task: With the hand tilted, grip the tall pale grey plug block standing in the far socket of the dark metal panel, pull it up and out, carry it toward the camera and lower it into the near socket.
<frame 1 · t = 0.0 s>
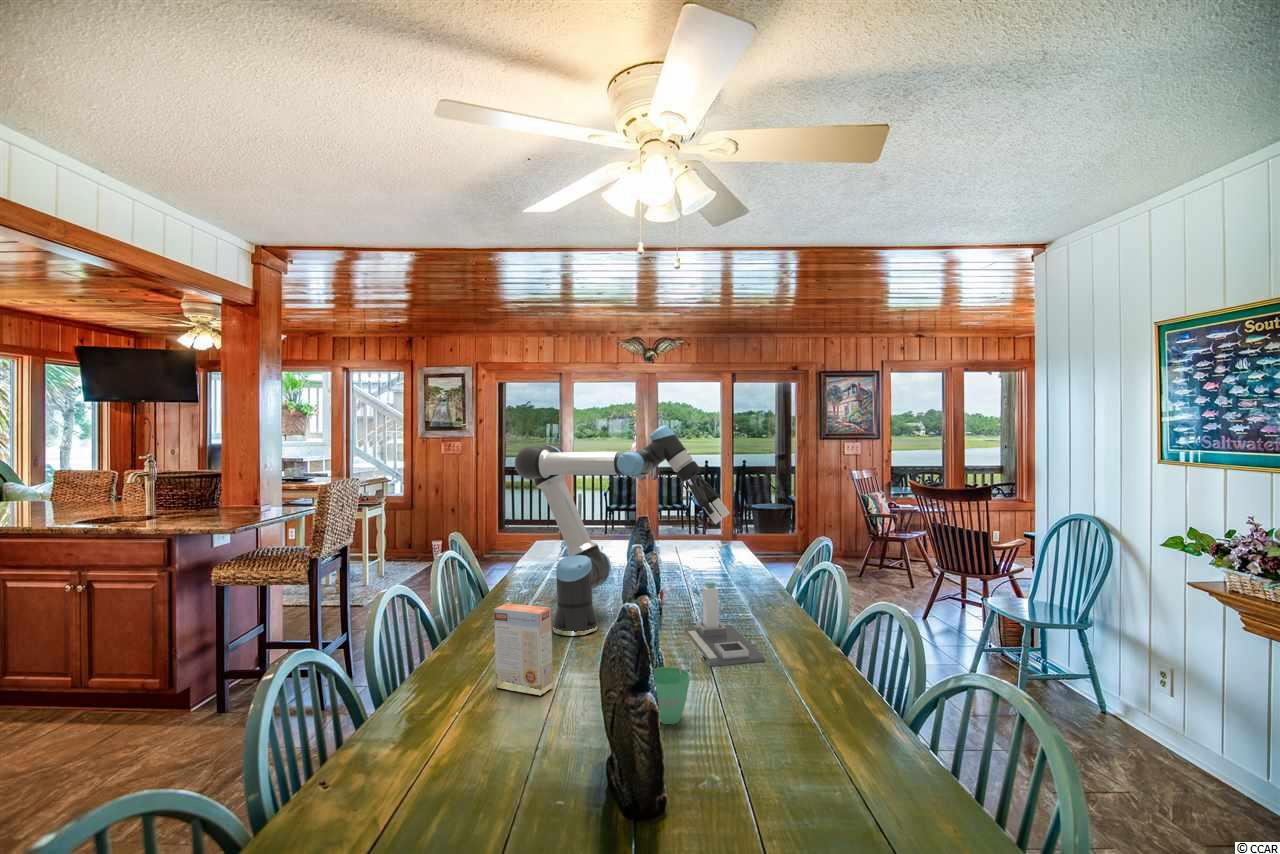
hand: (723, 518, 200), 36 cm above the table, tool tilted 35°, fingers open, 13 cm apart
panel: (721, 645, 184), on the table
cracker box: (524, 689, 157), on the table
green cup: (658, 720, 138), on the table
pomegranate: (650, 604, 232), on the table
plug: (711, 631, 194), point 1 cm above the table, touching panel
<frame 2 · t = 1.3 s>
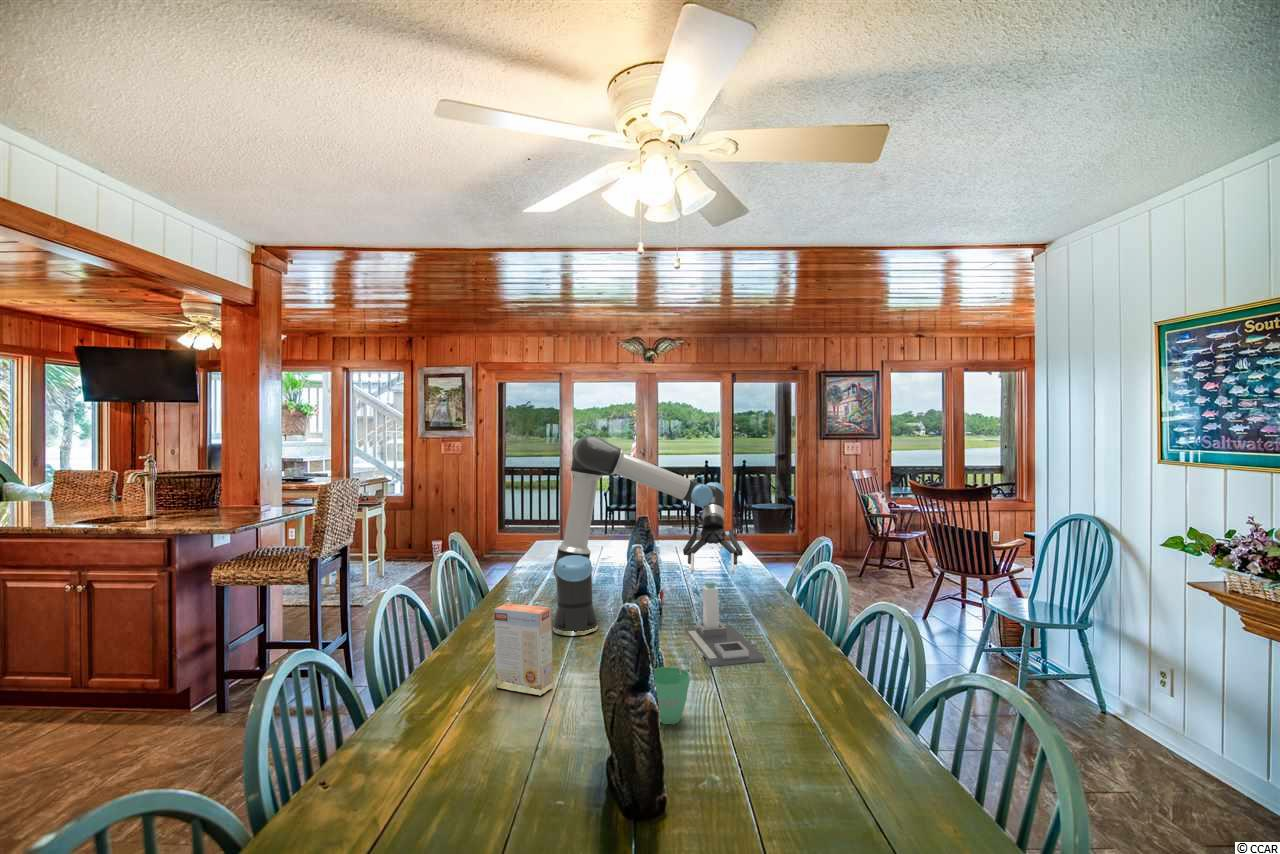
hand: (712, 572, 205), 18 cm above the table, tool tilted 45°, fingers open, 13 cm apart
nothing on the table moved.
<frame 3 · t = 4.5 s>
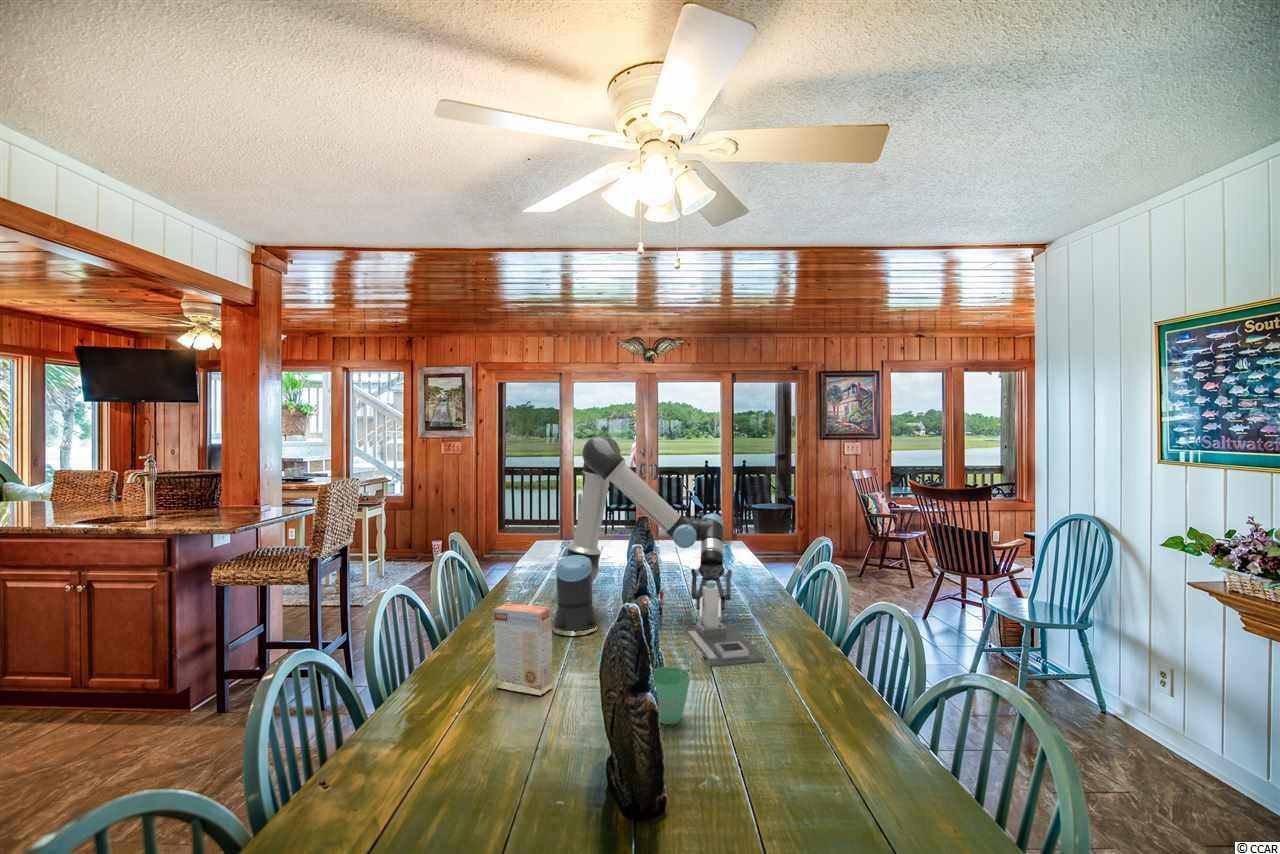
hand: (710, 618, 191), 6 cm above the table, tool tilted 45°, fingers closed on plug, 5 cm apart
plug: (711, 631, 194), point 1 cm above the table, touching gripper, panel
everything else where it was.
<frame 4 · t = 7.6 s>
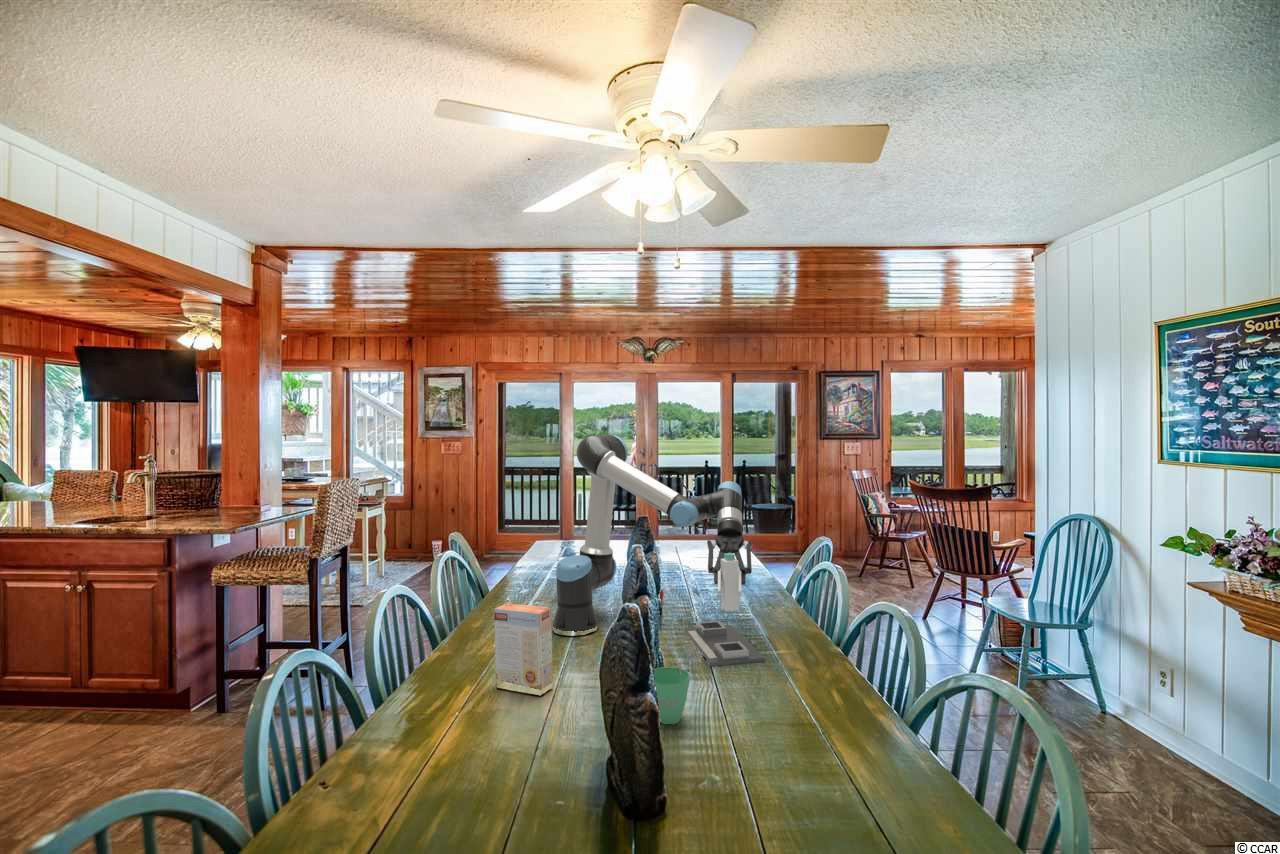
hand: (729, 593, 171), 19 cm above the table, tool tilted 45°, fingers closed on plug, 5 cm apart
plug: (730, 608, 175), point 14 cm above the table, touching gripper
everything else where it was.
when the fingers open (7 cm above the table, at t = 10.6 s): plug drops 1 cm, resting on panel.
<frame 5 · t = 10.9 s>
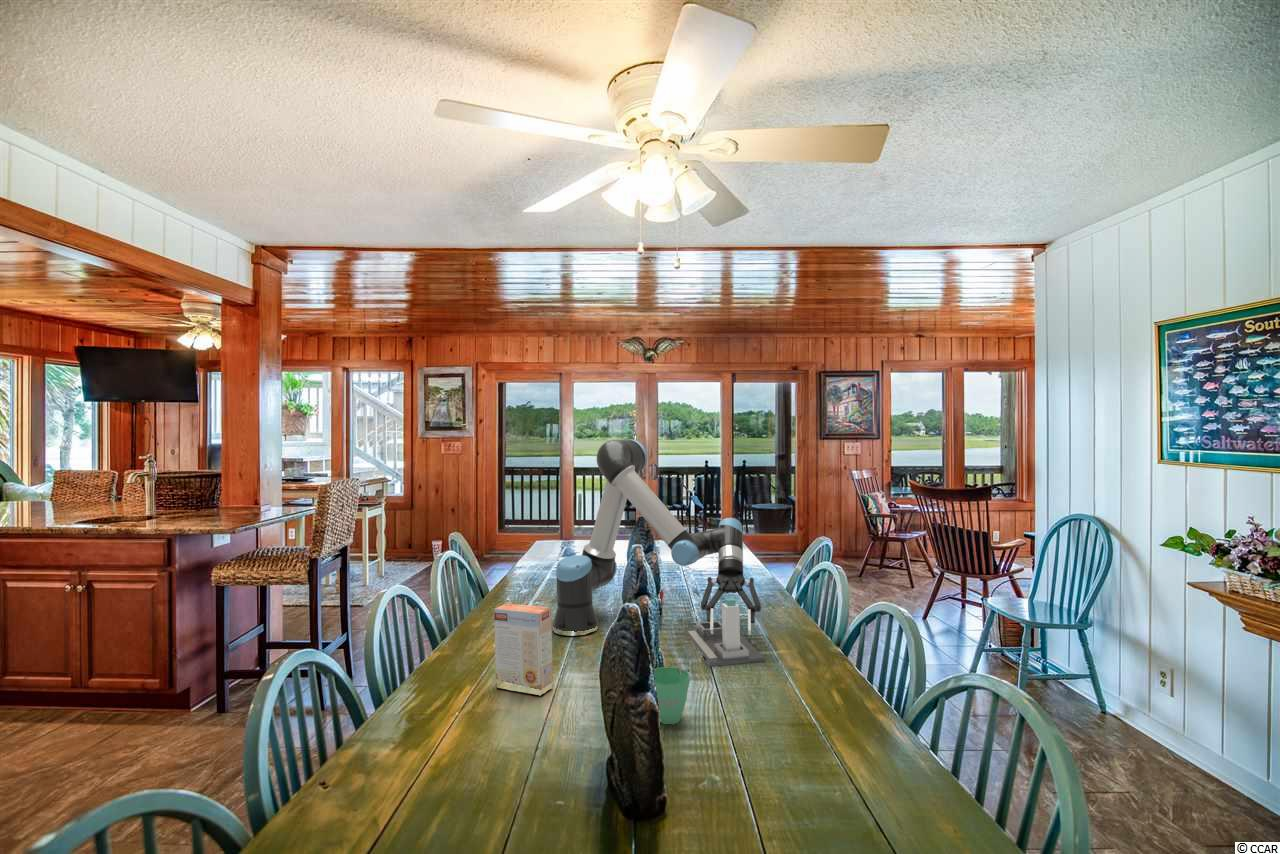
hand: (730, 632, 172), 8 cm above the table, tool tilted 45°, fingers open, 10 cm apart
plug: (731, 653, 175), point 1 cm above the table, touching panel
everything else where it was.
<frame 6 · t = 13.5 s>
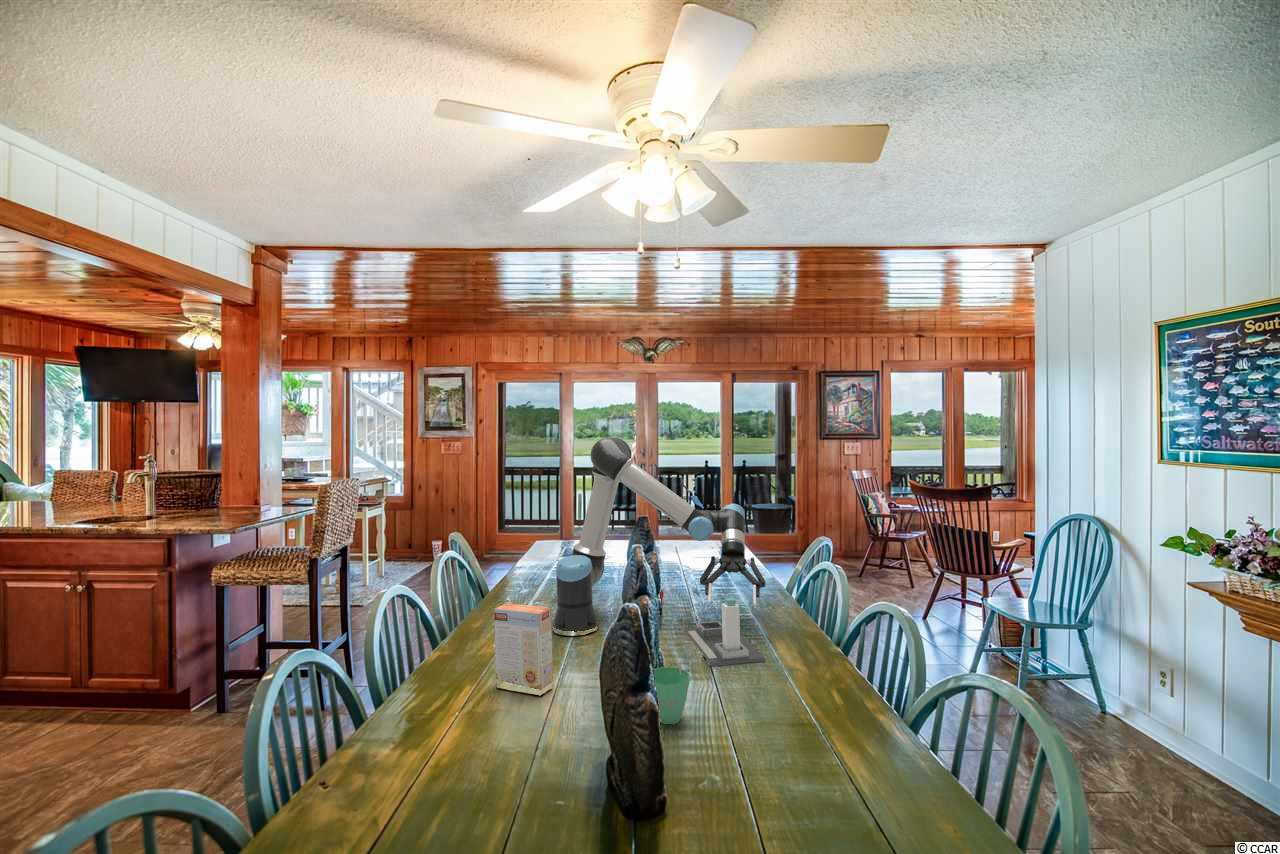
hand: (731, 605, 186), 12 cm above the table, tool tilted 45°, fingers open, 13 cm apart
nothing on the table moved.
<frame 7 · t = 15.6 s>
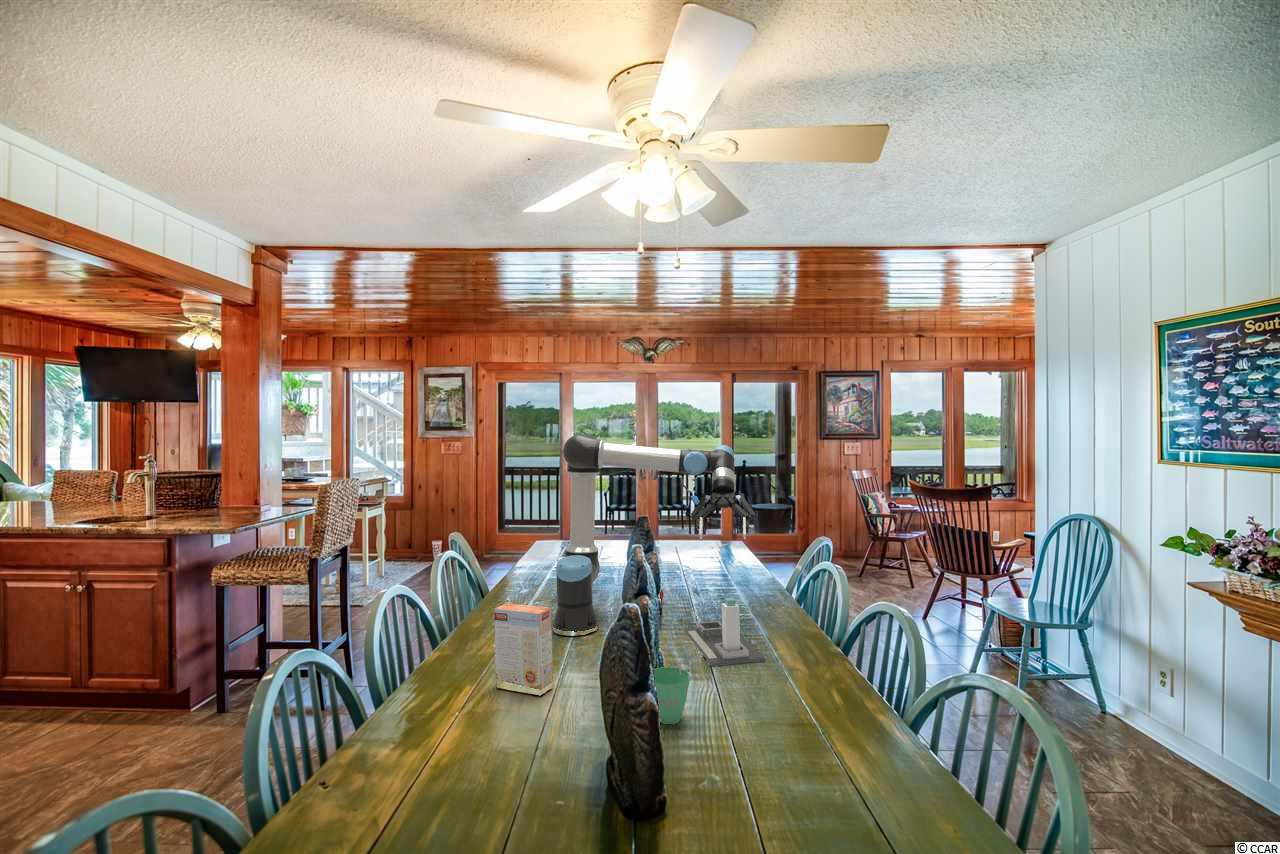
hand: (722, 536, 191), 32 cm above the table, tool tilted 45°, fingers open, 13 cm apart
nothing on the table moved.
at the end: plug 0.1 cm from the target spot on the panel, point 1.0 cm above the panel's base; plug tilted 0°; the gripper is holding nothing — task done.
